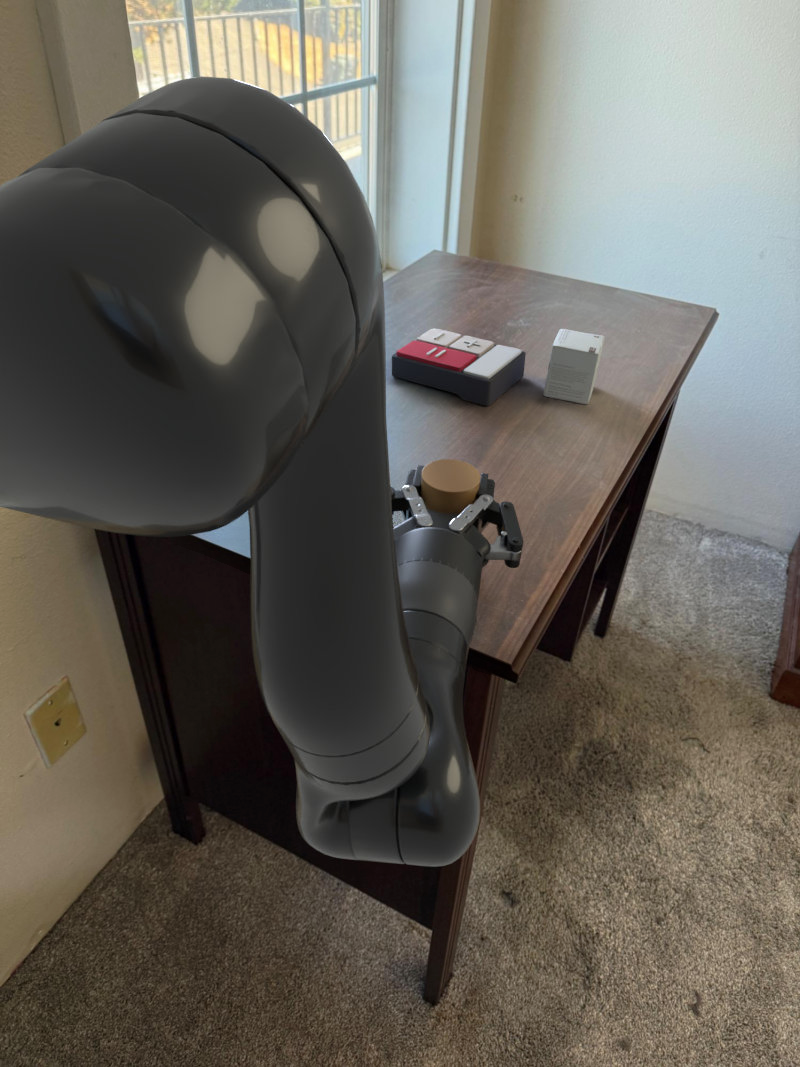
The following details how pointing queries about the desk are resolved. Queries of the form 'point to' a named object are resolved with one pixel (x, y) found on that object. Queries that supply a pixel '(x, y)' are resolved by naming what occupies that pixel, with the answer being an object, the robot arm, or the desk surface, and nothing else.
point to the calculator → (460, 365)
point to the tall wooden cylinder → (449, 485)
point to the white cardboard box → (573, 366)
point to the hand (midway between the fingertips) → (451, 477)
